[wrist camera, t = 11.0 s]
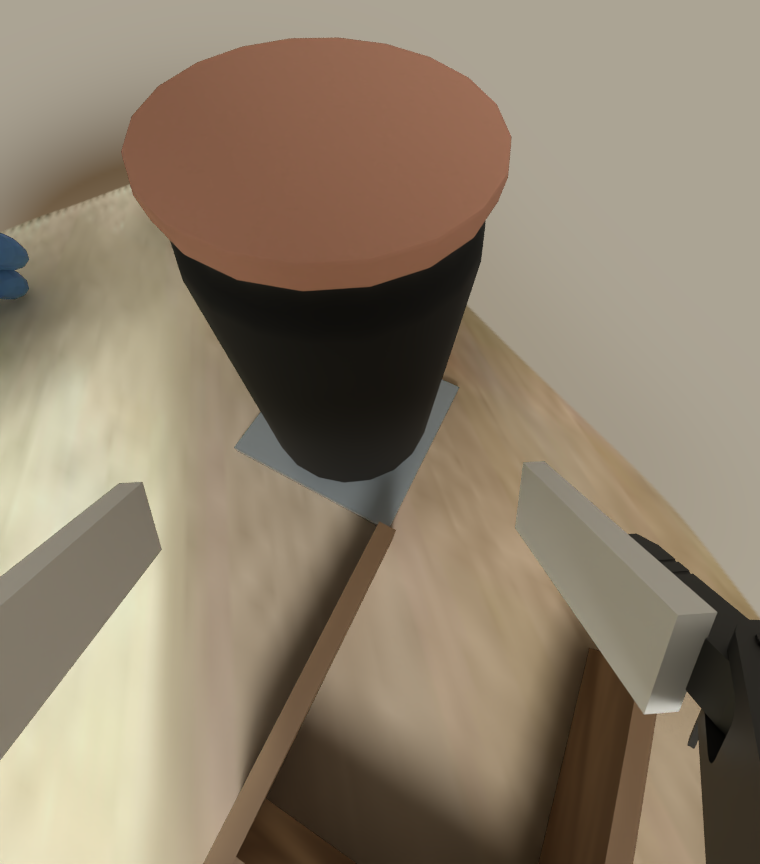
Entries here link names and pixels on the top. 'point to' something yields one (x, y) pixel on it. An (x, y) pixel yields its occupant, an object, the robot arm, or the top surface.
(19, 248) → the grapes
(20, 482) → the top surface
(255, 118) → the coffee jar
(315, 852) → the holder
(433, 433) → the plate
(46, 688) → the robot arm
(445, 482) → the top surface
